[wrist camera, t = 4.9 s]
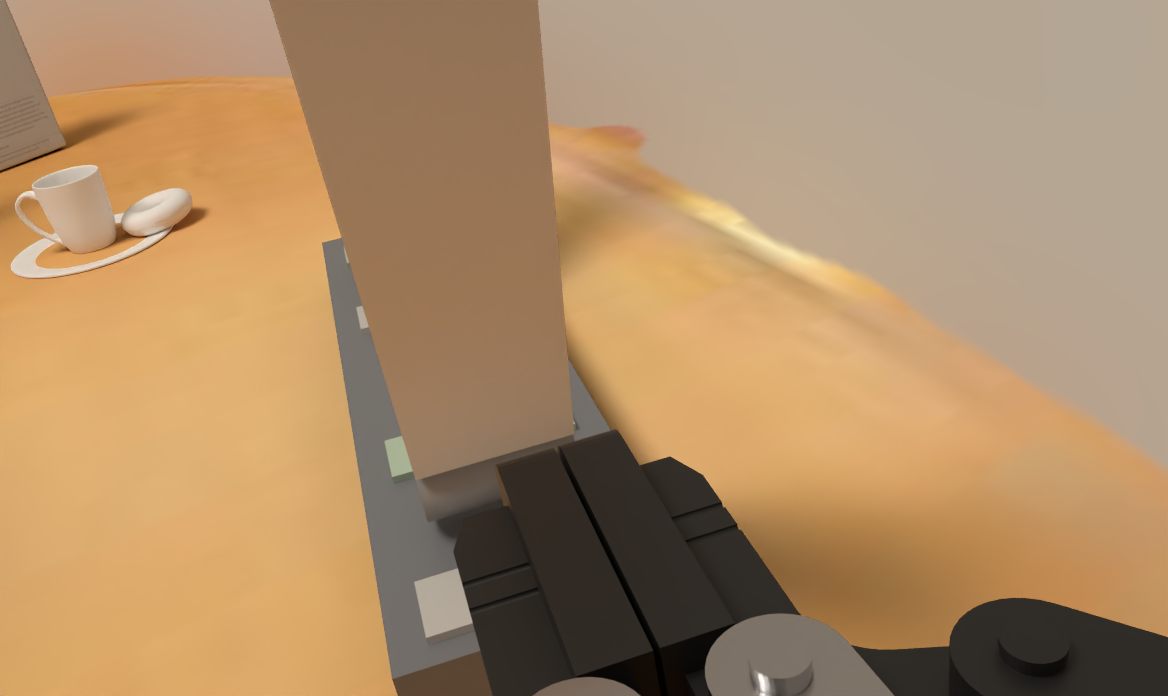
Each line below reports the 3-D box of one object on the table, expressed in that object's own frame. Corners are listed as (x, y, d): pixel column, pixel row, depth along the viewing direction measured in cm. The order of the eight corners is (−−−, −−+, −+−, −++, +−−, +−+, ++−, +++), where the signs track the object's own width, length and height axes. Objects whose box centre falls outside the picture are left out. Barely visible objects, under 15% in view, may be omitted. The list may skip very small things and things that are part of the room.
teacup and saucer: (216, 211, 55) (190, 137, 53) (149, 275, 48) (116, 193, 47) (67, 229, 57) (37, 158, 55) (-19, 294, 50) (-57, 215, 48)
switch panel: (416, 749, 21) (390, 671, 20) (335, 287, 43) (320, 238, 42) (709, 651, 22) (699, 572, 21) (485, 248, 44) (475, 200, 43)
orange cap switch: (425, 545, 24) (178, -231, 11) (405, 468, 25) (165, -301, 12) (592, 494, 24) (538, -292, 12) (564, 422, 26) (489, -350, 13)
